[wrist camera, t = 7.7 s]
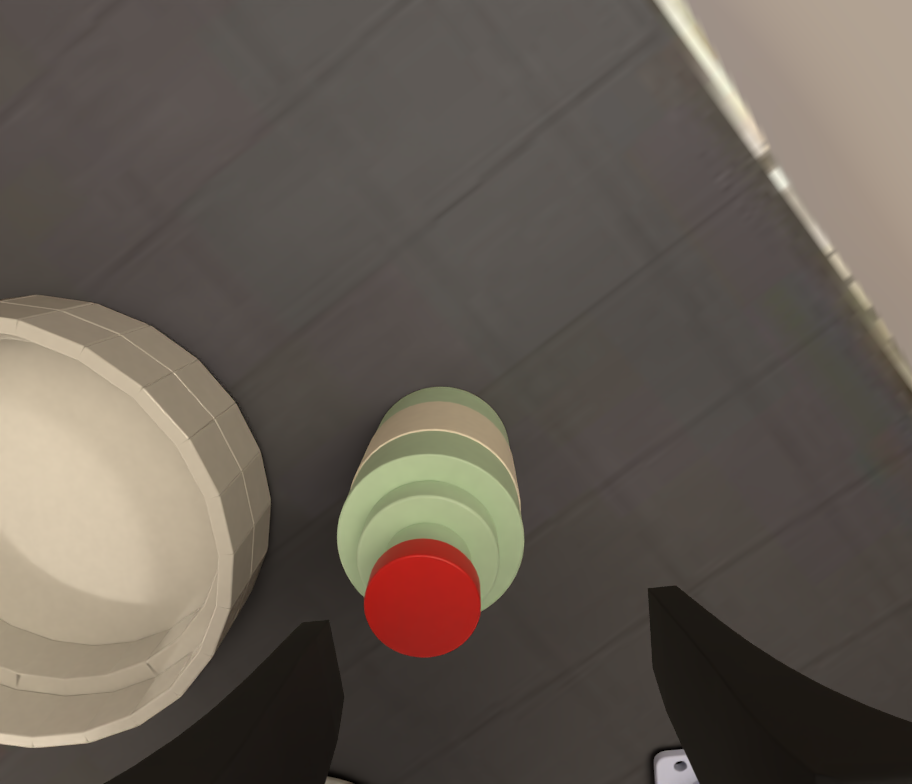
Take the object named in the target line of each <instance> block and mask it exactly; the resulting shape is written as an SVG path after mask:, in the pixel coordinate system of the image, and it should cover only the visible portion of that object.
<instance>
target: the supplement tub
mask: <svg viewBox="0 0 912 784" xmlns="http://www.w3.org/2000/svg"><path fill="white" fill-rule="evenodd" d="M325 784H353V783H351V782H348V781H345V780H341V779H337V778H333V777H328V776H327V779H326V782H325Z"/></svg>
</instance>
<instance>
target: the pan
mask: <svg viewBox="0 0 912 784" xmlns="http://www.w3.org/2000/svg"><path fill="white" fill-rule="evenodd" d="M270 501H271V498H270V493H269V488H268V484H267V479H266V474H265V470H264V465H263V460H262V456H261V452H260V449H259V447H258V445H257V443H256V441H255V439H254V437H253V435H252V433H251V431H250V429H249V428H248V426H247V424H246V422H245V420H244V418H243V416H242V414H241V412H240V410H239V408H238V406H237V404H236V403H235V401H234V400H233V399H232V398H231V397H230V395H229V394H228V393H227V392H226V391H225V390H224V388H223V387H222V386H221V385H220V384H219V383H218V382H217V380H216V379H215V378H214V377H213V376H212V375H211V374H210V372H209V371H208V370H207V369H206V368H205V367H204V365H203V364H202V363H201V362H200V361H199V360H198V359H197V358H196V357H194V356H193V355H191V354H190V353H189V352H187V351H186V350H184V349H183V348H182V347H180V346H179V345H177V344H176V343H175V342H173V341H172V340H170V339H169V338H168V337H166V336H165V335H163V334H162V333H161V332H159V331H158V330H156V329H155V328H154V327H152V326H149V325H148V324H146V323H143V322H141V321H138V320H136V319H133V318H131V317H128V316H126V315H123V314H121V313H119V312H116V311H114V310H111V309H109V308H106V307H104V306H101V305H99V304H94V303H92V302H86V301H79V300H72V299H64V298H57V297H50V296H43V295H30V296H22V297H14V298H6V299H0V744H5V745H12V746H20V747H28V748H41V747H53V746H64V745H75V744H86V743H91V742H94V741H97V740H100V739H103V738H105V737H108V736H111V735H114V734H117V733H120V732H123V731H126V730H129V729H132V728H134V727H137V726H139V725H141V724H143V723H144V722H146V721H147V720H148V719H150V718H151V717H153V716H154V715H156V714H157V713H159V712H160V711H161V710H163V709H164V708H166V707H167V706H169V705H170V704H172V703H173V702H175V701H176V700H177V699H179V698H180V697H181V696H182V695H183V694H184V693H185V692H186V690H187V689H188V688H189V687H190V685H191V684H192V683H193V682H194V680H195V679H196V678H197V677H198V675H199V674H200V673H201V671H202V670H203V669H204V668H205V666H206V665H207V664H208V663H209V661H210V660H211V659H212V657H213V656H214V654H215V652H216V651H217V649H218V647H219V646H220V644H221V642H222V641H223V639H224V637H225V635H226V634H227V632H228V630H229V629H230V627H231V625H232V623H233V622H234V620H235V618H236V617H237V615H238V613H239V612H240V610H241V608H242V607H243V605H244V603H245V602H246V600H247V598H248V596H249V595H250V593H251V591H252V589H253V587H254V584H255V581H256V579H257V576H258V574H259V571H260V568H261V566H262V563H263V560H264V558H265V555H266V553H267V548H268V539H269V525H270V510H271V502H270Z"/></svg>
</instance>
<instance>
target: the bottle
mask: <svg viewBox="0 0 912 784" xmlns="http://www.w3.org/2000/svg"><path fill="white" fill-rule="evenodd" d="M337 545H338V552H339V556H340V560H341V563H342V565H343V568H344V570H345V573H346V574H347V576H348V578H349V579H350V581H351V583H352V584H353V585H354V587H355V588H356V589H357V591H358V592H359V593H360V594H361V595H362V596H363V597H364V612H365V616H366V619H367V622H368V624H369V626H370V628H371V630H372V631H373V633H374V634H375V635H376V637H377V638H378V639H379V640H380V641H381V642H382V643H384V644H385V645H386V646H388V647H389V648H391V649H393V650H394V651H397V652H399V653H401V654H404V655H408V656H413V657H422V658H423V657H435V656H439V655H443V654H446V653H448V652H451V651H453V650H454V649H456V648H458V647H459V646H461V645H462V644H463V643H464V642H465V641H466V640H467V639H468V638H469V637H470V636H471V634H472V633H473V631H474V630H475V628H476V626H477V624H478V621H479V617H480V612H481V611H483V610H484V609H486V608H487V607H489V606H490V605H492V604H493V603H494V602H495V601H496V600H498V599H499V598H500V597H501V596H502V595H503V594H504V592H505V591H506V590H507V589H508V587H509V586H510V585H511V583H512V581H513V580H514V578H515V576H516V574H517V572H518V570H519V567H520V565H521V561H522V557H523V551H524V529H523V523H522V517H521V501H520V496H519V490H518V484H517V479H516V473H515V467H514V462H513V456H512V453H511V450H510V447H509V441H508V436H507V433H506V430H505V427H504V425H503V423H502V421H501V420H500V418H499V417H498V415H497V414H496V412H495V411H494V410H493V409H492V408H491V407H490V406H489V405H488V404H487V403H486V402H484V401H483V400H482V399H480V398H479V397H477V396H475V395H473V394H471V393H469V392H467V391H464V390H461V389H456V388H452V387H431V388H425V389H421V390H418V391H415V392H413V393H411V394H409V395H407V396H405V397H404V398H402V399H400V400H399V401H398V402H397V403H396V404H394V405H393V406H392V407H391V408H390V409H389V411H388V412H387V413H386V415H385V416H384V417H383V419H382V421H381V423H380V425H379V427H378V429H377V431H376V433H375V435H374V436H373V438H372V440H371V442H370V444H369V446H368V448H367V450H366V452H365V455H364V457H363V459H362V461H361V463H360V466H359V468H358V470H357V472H356V474H355V477H354V479H353V482H352V485H351V488H350V492H349V494H348V496H347V499H346V501H345V503H344V505H343V508H342V511H341V514H340V517H339V522H338V527H337Z"/></svg>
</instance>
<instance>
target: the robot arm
mask: <svg viewBox="0 0 912 784" xmlns="http://www.w3.org/2000/svg"><path fill="white" fill-rule="evenodd" d="M648 598H649V614H650V631H651V647H652V663H653V670H654V674H655V677H656V680H657V683H658V687H659V690H660V693H661V696H662V699H663V702H664V705H665V708H666V711H667V714H668V716H669V718H670V720H671V723H672V725H673V727H674V729H675V731H676V734H677V736H678V738H679V740H680V743H681V745H682V747H683V749H679V750H667V751H662V752H660V753H658V754H657V755H656V756H655V757H654V776H655V784H912V722H909V721H906V720H904V719H901V718H898V717H895V716H893V715H890V714H887V713H885V712H882V711H880V710H877V709H875V708H872V707H869V706H867V705H865V704H862V703H860V702H858V701H856V700H853V699H851V698H849V697H847V696H844V695H842V694H840V693H838V692H836V691H833V690H831V689H829V688H827V687H825V686H823V685H821V684H819V683H817V682H815V681H813V680H812V679H810V678H808V677H806V676H804V675H802V674H801V673H799V672H797V671H795V670H793V669H792V668H790V667H788V666H786V665H785V664H783V663H781V662H780V661H778V660H776V659H775V658H773V657H772V656H770V655H768V654H767V653H765V652H764V651H762V650H761V649H759V648H758V647H756V646H755V645H753V644H752V643H750V642H749V641H747V640H746V639H744V638H743V637H742V636H740V635H739V634H737V633H736V632H735V631H733V630H732V629H730V628H729V627H728V626H726V625H725V624H724V623H722V622H721V621H720V620H718V619H717V618H716V617H715V616H713V615H712V614H711V613H709V612H708V611H707V610H706V609H704V608H703V607H702V606H701V605H699V604H698V603H697V602H696V601H694V600H693V599H692V598H691V597H689V596H688V595H687V594H686V593H685V592H683V591H682V590H681V589H680V588H678V587H677V586H667V587H657V588H648ZM343 701H344V693H343V688H342V683H341V678H340V673H339V668H338V663H337V658H336V653H335V648H334V643H333V638H332V633H331V628H330V623H329V620H324V621H314V622H304V623H302V624H301V625H300V626H299V627H297V628H296V629H295V630H294V631H293V632H292V633H291V634H290V635H289V636H288V637H287V638H286V639H285V640H284V641H283V643H282V644H281V645H280V646H279V647H278V648H277V649H276V650H275V651H274V652H273V653H272V654H271V655H270V656H269V657H268V658H267V659H266V660H265V661H264V662H263V663H262V664H261V665H260V666H259V667H258V668H257V669H256V670H255V671H254V672H253V673H252V674H251V675H250V676H249V677H248V678H247V679H246V680H244V681H243V682H242V683H241V684H240V685H239V686H238V687H237V688H236V689H235V690H233V691H232V692H231V693H230V694H229V695H228V696H227V697H226V698H225V699H224V700H222V701H221V702H220V703H219V704H218V705H217V706H216V707H215V708H213V709H212V710H211V711H210V712H209V713H207V714H206V715H205V716H204V717H203V718H201V719H200V720H199V721H198V722H196V723H195V724H194V725H192V726H191V727H190V728H188V729H187V730H186V731H184V732H183V733H182V734H181V735H179V736H178V737H176V738H175V739H174V740H172V741H171V742H169V743H168V744H166V745H165V746H163V747H162V748H160V749H159V750H157V751H156V752H154V753H153V754H151V755H150V756H148V757H147V758H145V759H144V760H142V761H141V762H139V763H138V764H136V765H135V766H133V767H132V768H130V769H128V770H127V771H125V772H123V773H122V774H120V775H118V776H116V777H115V778H113V779H111V780H110V781H108V782H106V783H104V784H325V782H326V779H327V775H328V772H329V768H330V765H331V761H332V758H333V754H334V751H335V747H336V743H337V740H338V734H339V728H340V722H341V715H342V708H343ZM679 761H682V762H681V763H679V764H675V763H676V762H679Z"/></svg>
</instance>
